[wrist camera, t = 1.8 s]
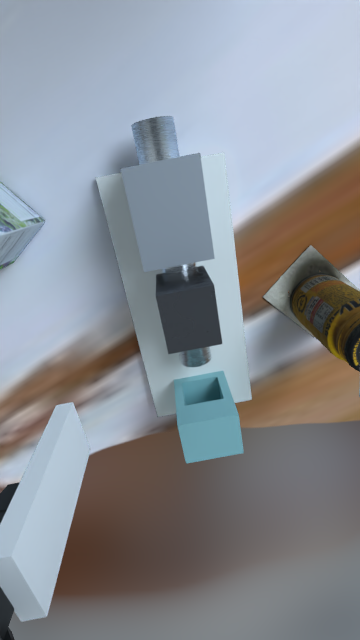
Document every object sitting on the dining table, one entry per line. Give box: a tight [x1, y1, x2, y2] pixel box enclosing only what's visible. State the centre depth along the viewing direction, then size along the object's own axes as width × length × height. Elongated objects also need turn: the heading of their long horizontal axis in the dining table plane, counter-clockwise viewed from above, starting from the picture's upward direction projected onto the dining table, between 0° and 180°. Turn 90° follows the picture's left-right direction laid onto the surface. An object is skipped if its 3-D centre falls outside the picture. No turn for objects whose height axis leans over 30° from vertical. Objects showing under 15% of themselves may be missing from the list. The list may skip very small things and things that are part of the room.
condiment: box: [263, 245, 360, 372], centre depth 31 cm, size 7×8×12 cm
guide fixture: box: [96, 152, 252, 463], centre depth 32 cm, size 28×12×9 cm, turn 10°
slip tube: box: [131, 116, 222, 367], centre depth 28 cm, size 22×4×9 cm, turn 10°
